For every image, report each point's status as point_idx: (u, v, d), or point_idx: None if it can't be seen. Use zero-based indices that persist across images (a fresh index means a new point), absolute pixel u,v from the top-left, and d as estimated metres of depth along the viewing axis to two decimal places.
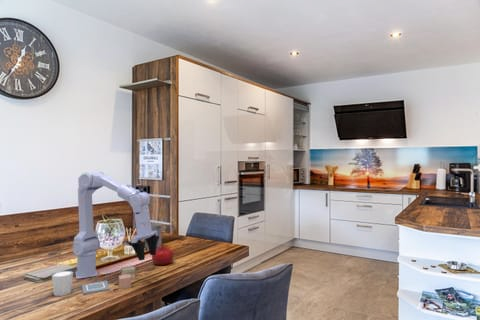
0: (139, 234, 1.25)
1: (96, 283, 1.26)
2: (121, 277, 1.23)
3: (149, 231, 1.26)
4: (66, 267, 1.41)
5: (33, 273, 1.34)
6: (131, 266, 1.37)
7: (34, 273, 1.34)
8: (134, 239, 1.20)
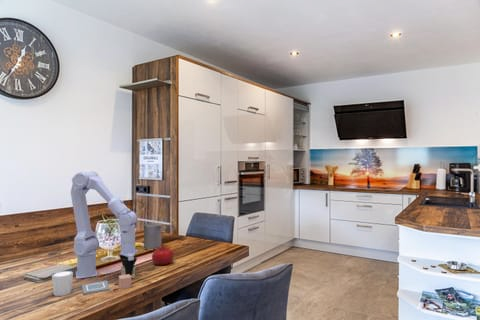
0: (128, 252, 1.33)
1: (96, 283, 1.26)
2: (121, 277, 1.23)
3: (134, 248, 1.36)
4: (66, 267, 1.41)
5: (33, 273, 1.33)
6: None
7: (34, 273, 1.33)
8: (132, 257, 1.29)
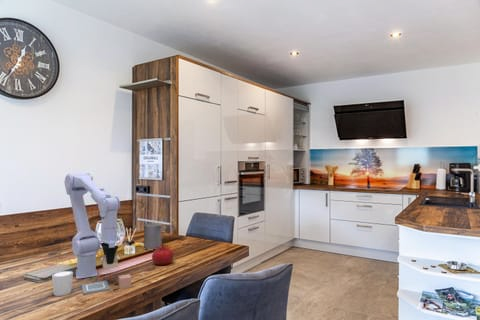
0: (109, 239, 1.25)
1: (96, 283, 1.26)
2: (121, 277, 1.23)
3: (116, 236, 1.29)
4: (66, 267, 1.41)
5: (33, 273, 1.33)
6: None
7: (34, 273, 1.33)
8: (113, 244, 1.22)
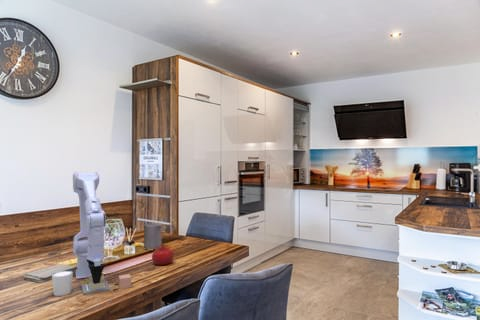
0: (95, 256, 1.20)
1: None
2: (121, 277, 1.23)
3: (103, 253, 1.24)
4: (66, 267, 1.41)
5: (33, 273, 1.33)
6: None
7: (34, 273, 1.33)
8: (99, 262, 1.17)
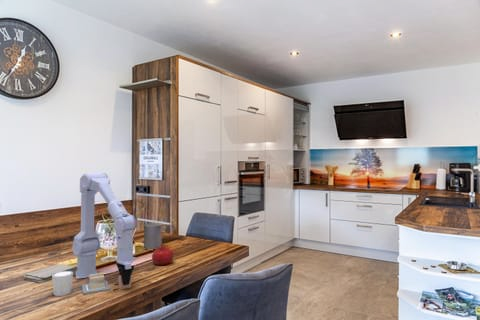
0: (125, 259, 1.22)
1: None
2: (121, 277, 1.23)
3: (132, 256, 1.25)
4: (66, 267, 1.41)
5: (33, 273, 1.33)
6: (101, 274, 1.24)
7: (34, 273, 1.33)
8: (130, 265, 1.18)
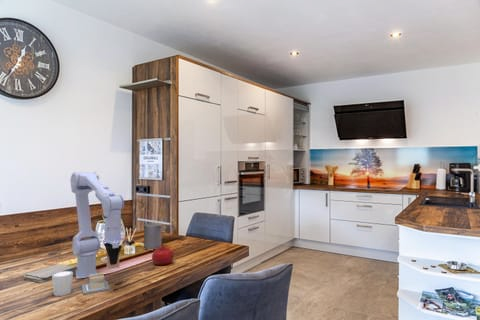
0: (113, 239, 1.21)
1: None
2: None
3: (120, 236, 1.25)
4: (66, 267, 1.41)
5: (33, 273, 1.33)
6: (101, 274, 1.24)
7: (34, 273, 1.33)
8: (117, 244, 1.18)
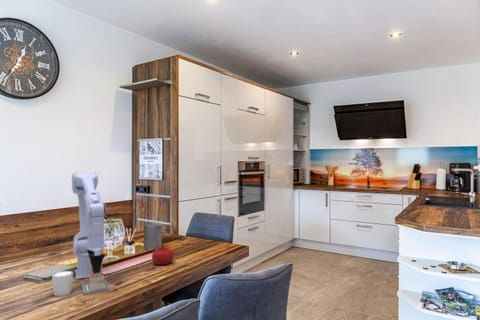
0: (95, 246, 1.20)
1: None
2: None
3: (103, 243, 1.24)
4: (66, 267, 1.41)
5: (33, 273, 1.33)
6: None
7: (34, 273, 1.33)
8: (99, 251, 1.17)
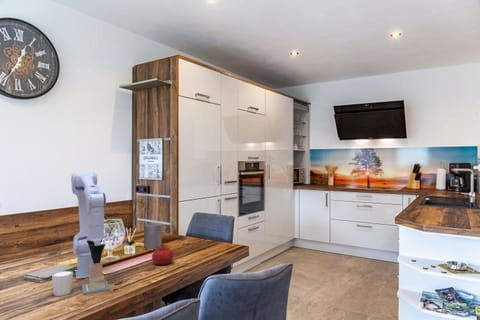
0: (95, 236, 1.20)
1: None
2: (92, 266, 1.22)
3: (103, 233, 1.24)
4: (66, 267, 1.41)
5: (33, 274, 1.33)
6: None
7: (34, 273, 1.33)
8: (99, 241, 1.17)
